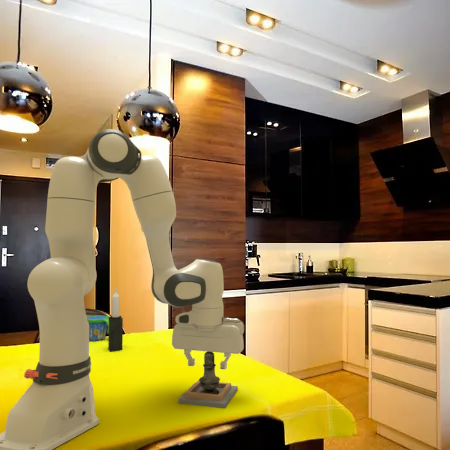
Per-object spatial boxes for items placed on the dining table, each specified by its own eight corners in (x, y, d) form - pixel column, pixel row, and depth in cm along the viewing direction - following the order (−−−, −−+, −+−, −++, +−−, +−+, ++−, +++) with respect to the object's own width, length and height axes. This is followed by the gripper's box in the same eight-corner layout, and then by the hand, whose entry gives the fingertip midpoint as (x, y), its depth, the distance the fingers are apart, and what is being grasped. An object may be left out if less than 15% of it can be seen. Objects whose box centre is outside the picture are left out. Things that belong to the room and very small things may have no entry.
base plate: (225, 408, 95) (225, 399, 95) (178, 402, 99) (177, 394, 99) (237, 389, 108) (237, 381, 108) (195, 385, 111) (195, 378, 111)
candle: (107, 349, 154) (108, 288, 156) (120, 347, 157) (120, 287, 159) (110, 351, 150) (110, 289, 152) (122, 350, 152) (123, 288, 154)
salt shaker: (208, 398, 99) (207, 352, 100) (194, 392, 103) (194, 348, 104) (224, 392, 103) (224, 348, 104) (211, 387, 107) (210, 344, 108)
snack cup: (117, 339, 172) (117, 316, 173) (99, 344, 163) (99, 320, 164) (93, 335, 180) (94, 314, 180) (75, 340, 171) (75, 317, 171)
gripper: (246, 316, 105) (246, 367, 104) (178, 313, 111) (178, 360, 110) (241, 320, 99) (241, 374, 98) (170, 316, 104) (169, 367, 103)
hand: (207, 367), depth 104 cm, fingers open, 8 cm apart
